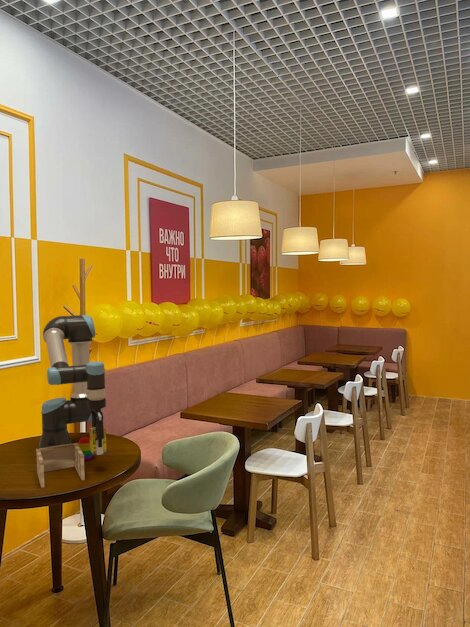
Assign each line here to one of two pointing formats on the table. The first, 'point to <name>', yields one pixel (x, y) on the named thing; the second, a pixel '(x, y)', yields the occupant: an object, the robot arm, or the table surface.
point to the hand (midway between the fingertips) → (98, 452)
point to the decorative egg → (85, 447)
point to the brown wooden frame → (59, 460)
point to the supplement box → (93, 441)
